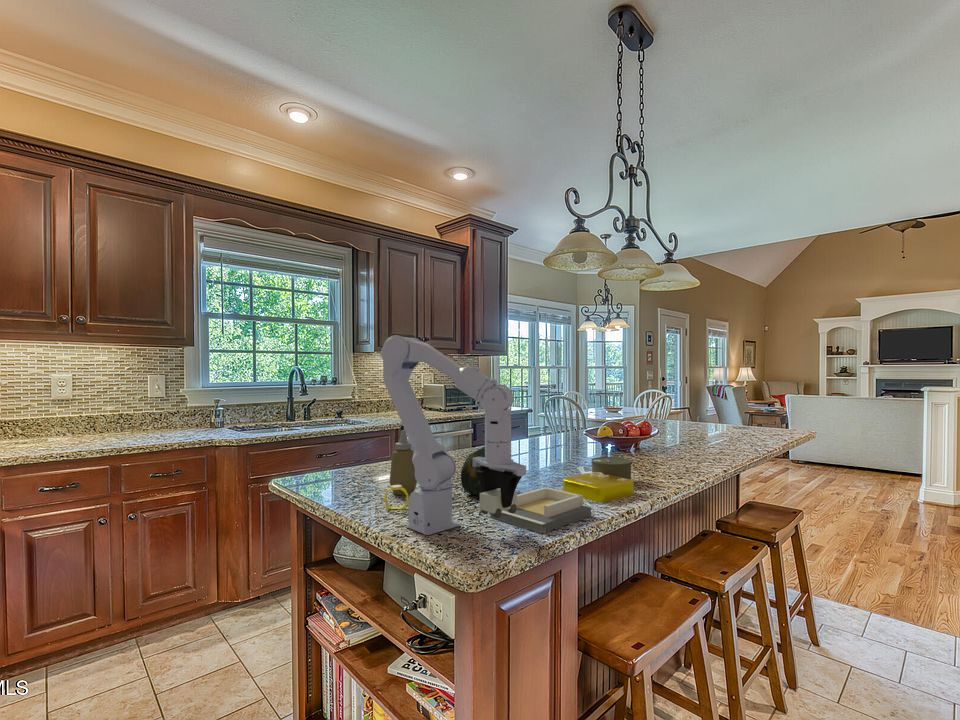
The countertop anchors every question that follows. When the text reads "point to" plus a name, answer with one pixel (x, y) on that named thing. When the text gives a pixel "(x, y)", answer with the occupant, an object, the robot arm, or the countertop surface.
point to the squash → (473, 474)
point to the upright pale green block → (495, 503)
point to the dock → (546, 510)
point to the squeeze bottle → (403, 466)
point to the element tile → (599, 486)
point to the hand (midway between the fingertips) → (498, 504)
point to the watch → (396, 487)
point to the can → (612, 466)
